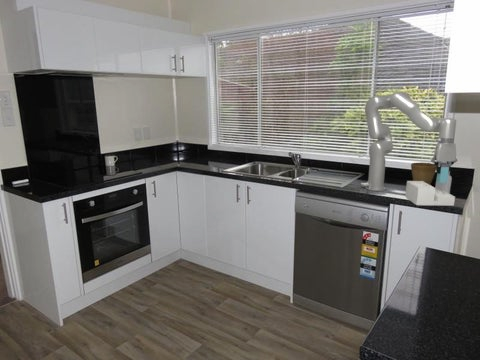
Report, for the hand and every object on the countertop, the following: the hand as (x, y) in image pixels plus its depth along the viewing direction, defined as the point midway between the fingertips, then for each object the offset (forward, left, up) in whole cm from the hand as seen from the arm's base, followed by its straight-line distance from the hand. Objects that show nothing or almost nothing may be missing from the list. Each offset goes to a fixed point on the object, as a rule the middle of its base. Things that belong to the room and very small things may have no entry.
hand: (442, 172), depth 196 cm
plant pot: (+2, +29, -17) cm, 34 cm away
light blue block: (0, 0, -5) cm, 5 cm away
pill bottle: (+8, +14, -17) cm, 24 cm away
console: (-6, 0, -17) cm, 18 cm away
